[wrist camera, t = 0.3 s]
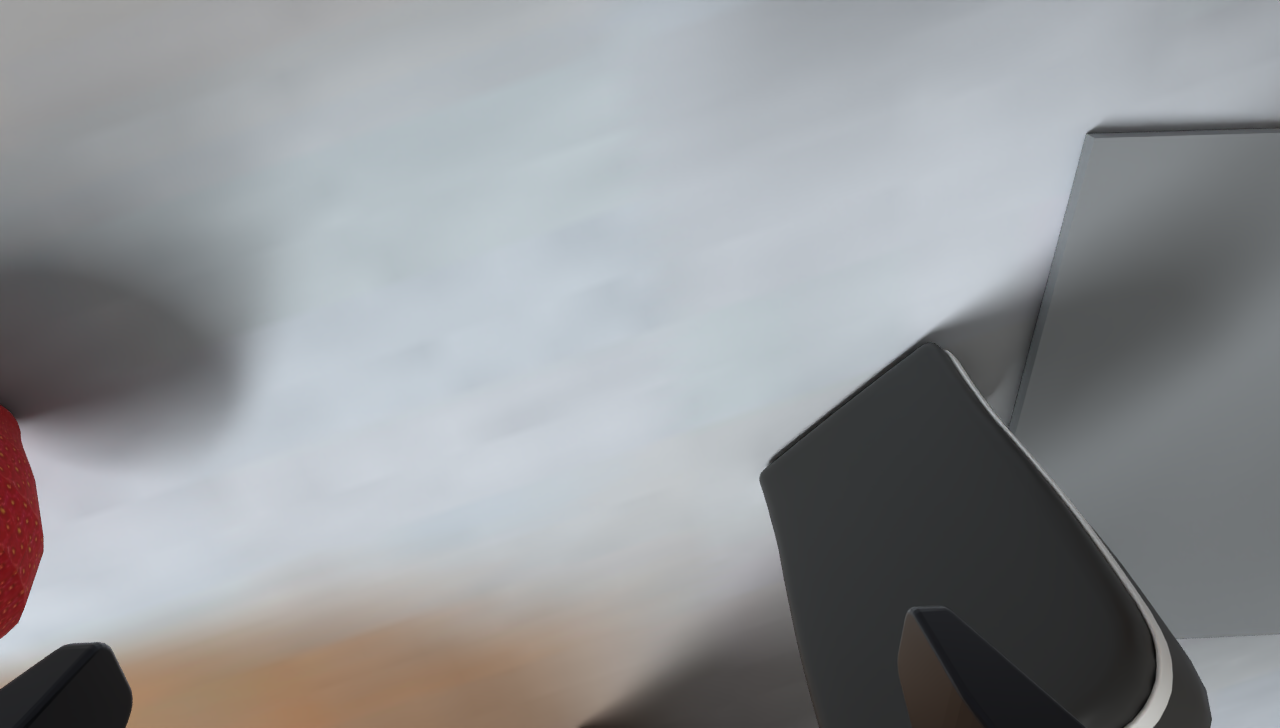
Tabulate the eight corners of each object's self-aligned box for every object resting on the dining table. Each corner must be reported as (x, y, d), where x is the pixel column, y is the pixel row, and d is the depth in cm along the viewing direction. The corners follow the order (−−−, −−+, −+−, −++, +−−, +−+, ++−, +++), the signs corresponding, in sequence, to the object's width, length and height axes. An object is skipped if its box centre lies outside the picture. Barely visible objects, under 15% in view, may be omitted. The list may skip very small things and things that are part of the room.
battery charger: (825, 536, 26) (958, 928, 16) (746, 473, 25) (840, 862, 15) (1009, 403, 24) (1295, 769, 14) (933, 325, 22) (1192, 673, 12)
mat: (1389, 620, 29) (1399, 629, 29) (953, 639, 29) (957, 648, 29) (1720, 115, 20) (1740, 119, 20) (1086, 133, 20) (1094, 138, 19)
